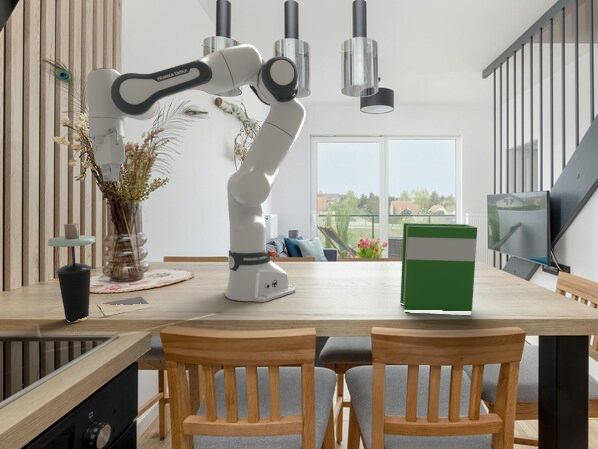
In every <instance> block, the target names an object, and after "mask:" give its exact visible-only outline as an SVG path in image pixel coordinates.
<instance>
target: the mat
mask: <svg viewBox="0 0 598 449" xmlns="http://www.w3.org/2000/svg"><path fill="white" fill-rule="evenodd" d="M102 303H103V304H110V305H116V304H117V305H120V304H123V305H133V304H140V303H141V304H150V303H149V302H148V301H147V300H145V299H144V298H143V297H142V296H137V297H131V298H130V297H129V298H125V299H119V300H115V301H114V300H113V301H108V302H102Z"/></svg>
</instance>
